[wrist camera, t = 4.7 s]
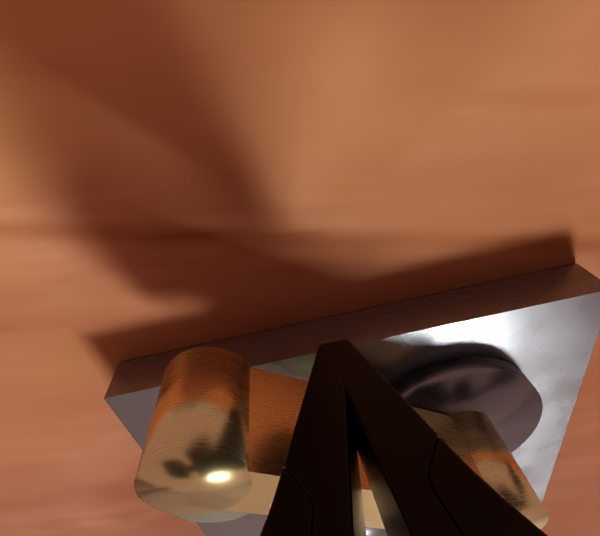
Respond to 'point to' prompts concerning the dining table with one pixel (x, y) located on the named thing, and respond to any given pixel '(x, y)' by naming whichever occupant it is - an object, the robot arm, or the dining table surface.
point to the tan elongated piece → (282, 419)
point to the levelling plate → (419, 357)
